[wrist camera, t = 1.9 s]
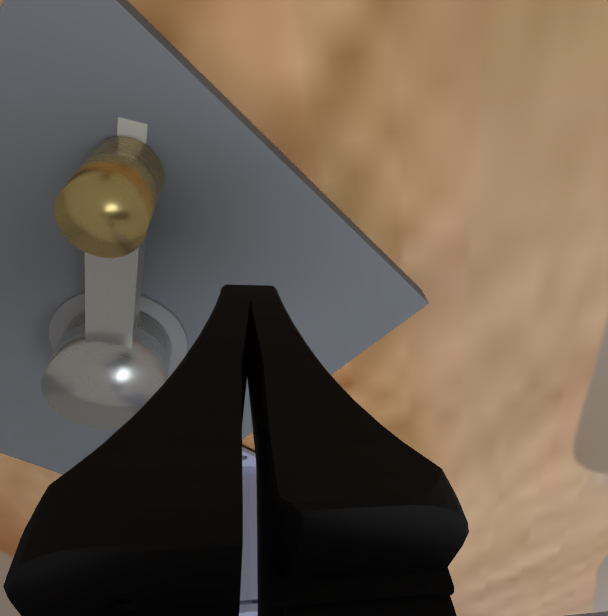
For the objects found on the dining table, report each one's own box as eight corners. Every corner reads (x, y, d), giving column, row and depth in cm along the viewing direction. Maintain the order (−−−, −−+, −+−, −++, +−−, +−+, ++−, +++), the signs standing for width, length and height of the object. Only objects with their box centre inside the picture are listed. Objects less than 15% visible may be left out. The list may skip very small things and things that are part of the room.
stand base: (421, 289, 23) (430, 305, 22) (154, 488, 32) (151, 507, 31) (57, -68, 13) (40, -71, 12) (-187, 364, 22) (-209, 384, 21)
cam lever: (167, 386, 24) (155, 451, 20) (65, 375, 22) (36, 443, 19) (201, 154, 16) (191, 199, 13) (53, 119, 15) (3, 158, 12)
